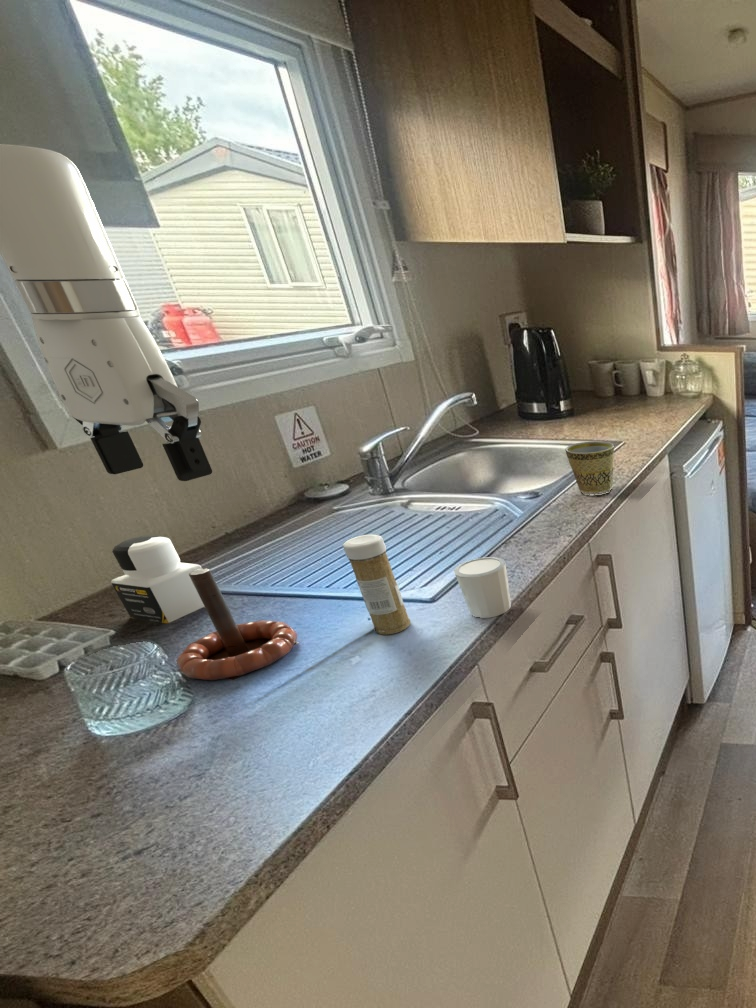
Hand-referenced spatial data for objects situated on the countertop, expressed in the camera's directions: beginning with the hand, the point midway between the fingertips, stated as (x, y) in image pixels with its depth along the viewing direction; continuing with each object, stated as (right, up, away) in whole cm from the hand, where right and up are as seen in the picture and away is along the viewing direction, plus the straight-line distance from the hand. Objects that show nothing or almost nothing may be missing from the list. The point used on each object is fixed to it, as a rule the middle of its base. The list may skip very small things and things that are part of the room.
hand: (161, 474), depth 71 cm
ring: (-2, -20, +12) cm, 24 cm away
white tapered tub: (+23, -15, +26) cm, 38 cm away
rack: (-3, -22, +14) cm, 26 cm away
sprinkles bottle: (+12, -18, +22) cm, 30 cm away
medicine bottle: (-22, -16, +25) cm, 37 cm away
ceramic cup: (+24, +11, +75) cm, 80 cm away
